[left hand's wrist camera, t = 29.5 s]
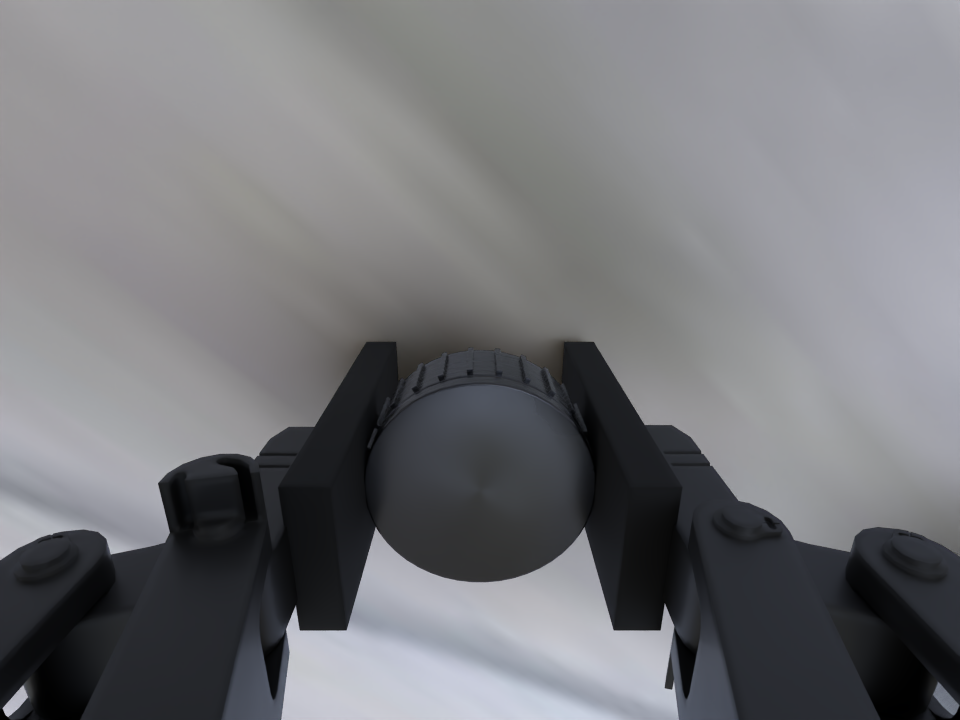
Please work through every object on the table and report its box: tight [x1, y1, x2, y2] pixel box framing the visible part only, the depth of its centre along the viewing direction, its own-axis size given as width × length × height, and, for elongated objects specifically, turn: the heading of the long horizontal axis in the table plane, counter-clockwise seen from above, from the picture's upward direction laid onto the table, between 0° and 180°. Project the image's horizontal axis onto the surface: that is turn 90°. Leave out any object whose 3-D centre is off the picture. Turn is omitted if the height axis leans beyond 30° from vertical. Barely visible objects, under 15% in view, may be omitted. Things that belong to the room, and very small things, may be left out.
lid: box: [364, 347, 596, 582], centre depth 11 cm, size 4×4×2 cm
